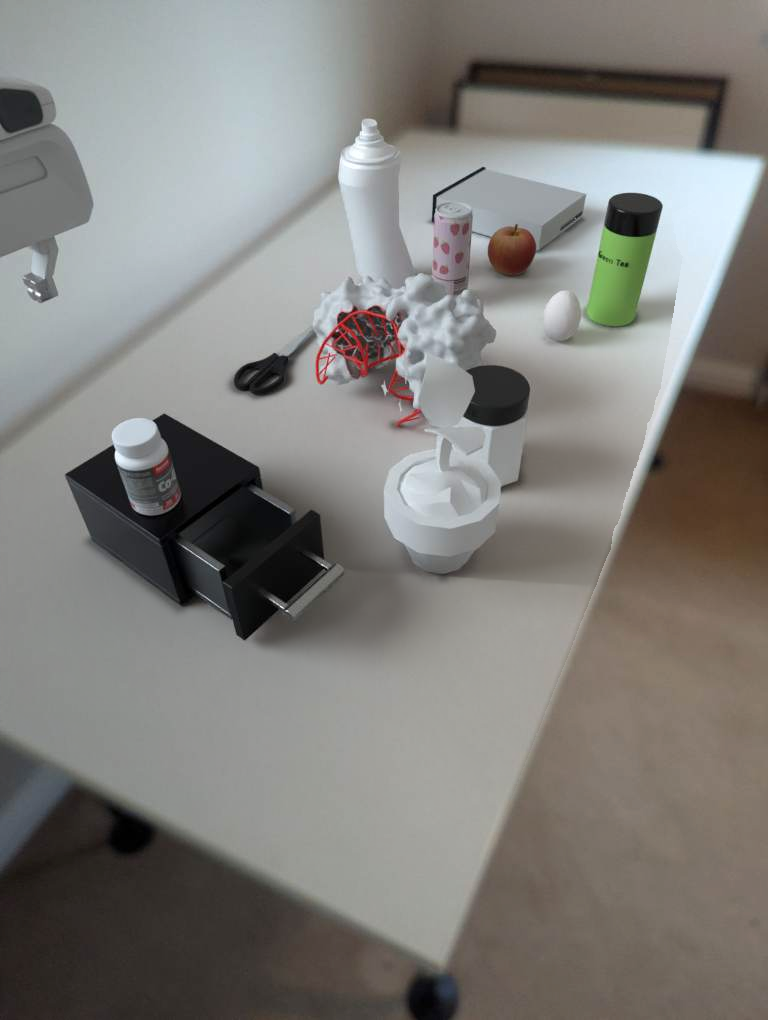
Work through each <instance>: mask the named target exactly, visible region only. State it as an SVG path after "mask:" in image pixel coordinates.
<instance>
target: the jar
mask: <svg viewBox="0 0 768 1020" xmlns="http://www.w3.org/2000/svg"><path fill="white" fill-rule="evenodd" d="M466 372H467V373H469V374H470V375H472V378H473V383H474V388H475V393H474V395H473V397H472V399H471V401H470V403H469V405H468V407H467V409H466V411H465V413H464V415H463V416H462V418H461V420H460V422H459V423H458V425H455V426H452V427H482V428H483V430H484V432H485V440H484V445H483V448H482V449H480V450H478V451H476V452H474V453H472V454H470V455H472V456H474V457H476V458H478V459H480V460H482V461H484V462H486V463H488V464H489V466H490V467H491V468H492V470H493V471H494V473H495V474H496V476H497V477H498V479H499V480H500V482H501V487H504V486H506V485H509V484H512V483H515V482H517V481H518V480H519V477H520V476H519V475H520V469H521V463H522V456H523V449H524V444H525V437H526V431H527V425H528V408H529V402H530V397H531V385H530V382H529V380H528V379H527V378H526V377H525V376H524V375H523V374H522V373H520V372H519V371H517V370H515V369H513V368H510V367H507V366H503V365H498V364H497V365H495V364H485V365H484V364H482V366H477V367H473V368H471V369H468V370H466ZM451 450H455V451H460V450H459V449H458V448H456V447H455V446H454V445H453V444H452V447H451Z"/></svg>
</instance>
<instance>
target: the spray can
mask: <svg viewBox="0 0 768 1020" xmlns="http://www.w3.org/2000/svg"><path fill="white" fill-rule="evenodd" d="M354 141H355V142H353V143H352V144H351V145H348V146H346V147H344V148H343V149H342V150H341V151H340V158H339V164H338V174H337V178H338V179H337V180H338V183H339V189H340V192H341V196H342V201H343V206H344V210H345V214H346V220H347V224H348V228H349V234H350V239H351V245H352V249H353V255H354V260H355V265H356V266H355V267H356V270H357V273H358V277H359V278H360V281H361V282H362V281H363V278H364V277H365V276H370V277H371V278H372V279H373V281H374V282H377V281H378V280H380V279H385V280H386V281H387V282H388V283H389V284H390V286H391V287H393V288H396V289H400V288H401V287H403V286H406V285H405V280H406V278H408V277H413V276H417V274H416V270H415V267H414V264H413V261H412V258H411V256H410V252H409V250H408V246H407V244H406V241H405V238H404V235H403V232H402V230H401V226H400V182H399V181H400V171H401V170H400V169H401V164H402V157H401V155H400V154H401V151H400V149H398V148H397V147H396V146H394V145H391V144H388V143H387V141H385V137H384V136H383V135H382V134H381V132H380V130H379V129H378V122H377V121H376V120H375V119H373V118H363V119H362V120H361V130H360V131H359V135H357V136H356V137H355V140H354Z"/></svg>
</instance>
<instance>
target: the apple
mask: <svg viewBox="0 0 768 1020" xmlns="http://www.w3.org/2000/svg"><path fill="white" fill-rule="evenodd" d="M517 226H518V224H515V227H509V226H507V227H503V228H501V229H499V230H497V231H496V232H495V233H494V234H493V236H492V237H490V239H489V242H488V244H487V258H488V262H489V263H490V264H491V267H492V268H493V269H494V270H495V272H497V273H498V274H501V275H504V276H516V275H520V274H522V273H524V272H525V271H526V270H528V268H529V267H531V264H532V263H533V261H534V258H535V257H536V253H537V250H536V242H535V239H534V237H533V236H532V234H531V233H530V232H529V231H528V230H526V229H523V228H518V227H517Z"/></svg>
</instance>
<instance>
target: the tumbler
mask: <svg viewBox="0 0 768 1020" xmlns="http://www.w3.org/2000/svg"><path fill="white" fill-rule="evenodd" d="M663 207H664V205H663V202H662V201H661V200H660V199H658V198H657V197H655V196H653V195H649V194H646V193H640V192H622V193H617V194H615V195H612V196H611V197H610V198H609V199H608V202H607V207H606V213H605V217H604V221H603V227H602V233H601V237H600V243H599V247H598V252H597V257H596V261H595V262H596V263H595V267H594V272H593V278H592V282H591V287H590V291H589V298H588V301H587V306H586V316H587V317H588V319H590V320H591V321H593V322H594V323H596V324H598V325H602V326H604V327H605V326H606V327H613V328H614V327H616V328H617V327H624V326H627V325H629V324H631V323H632V322H633V321H634V320H635V318H636V314H637V310H638V307H639V302H640V298H641V295H642V290H643V287H644V282H645V278H646V274H647V270H648V267H649V263H650V260H651V254H652V250H653V247H654V244H655V240H656V235H657V231H658V228H659V223H660V220H661V217H662V212H663Z"/></svg>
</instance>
